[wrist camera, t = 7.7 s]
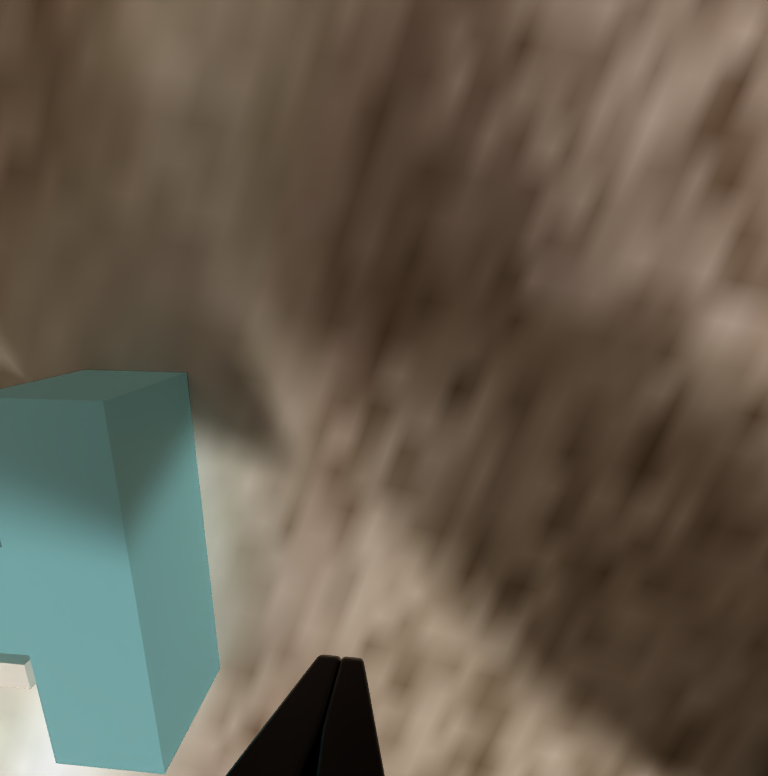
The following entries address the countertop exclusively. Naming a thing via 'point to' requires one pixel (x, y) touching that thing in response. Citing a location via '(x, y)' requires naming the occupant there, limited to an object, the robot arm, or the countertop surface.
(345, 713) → the robot arm
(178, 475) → the t block
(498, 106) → the countertop surface
